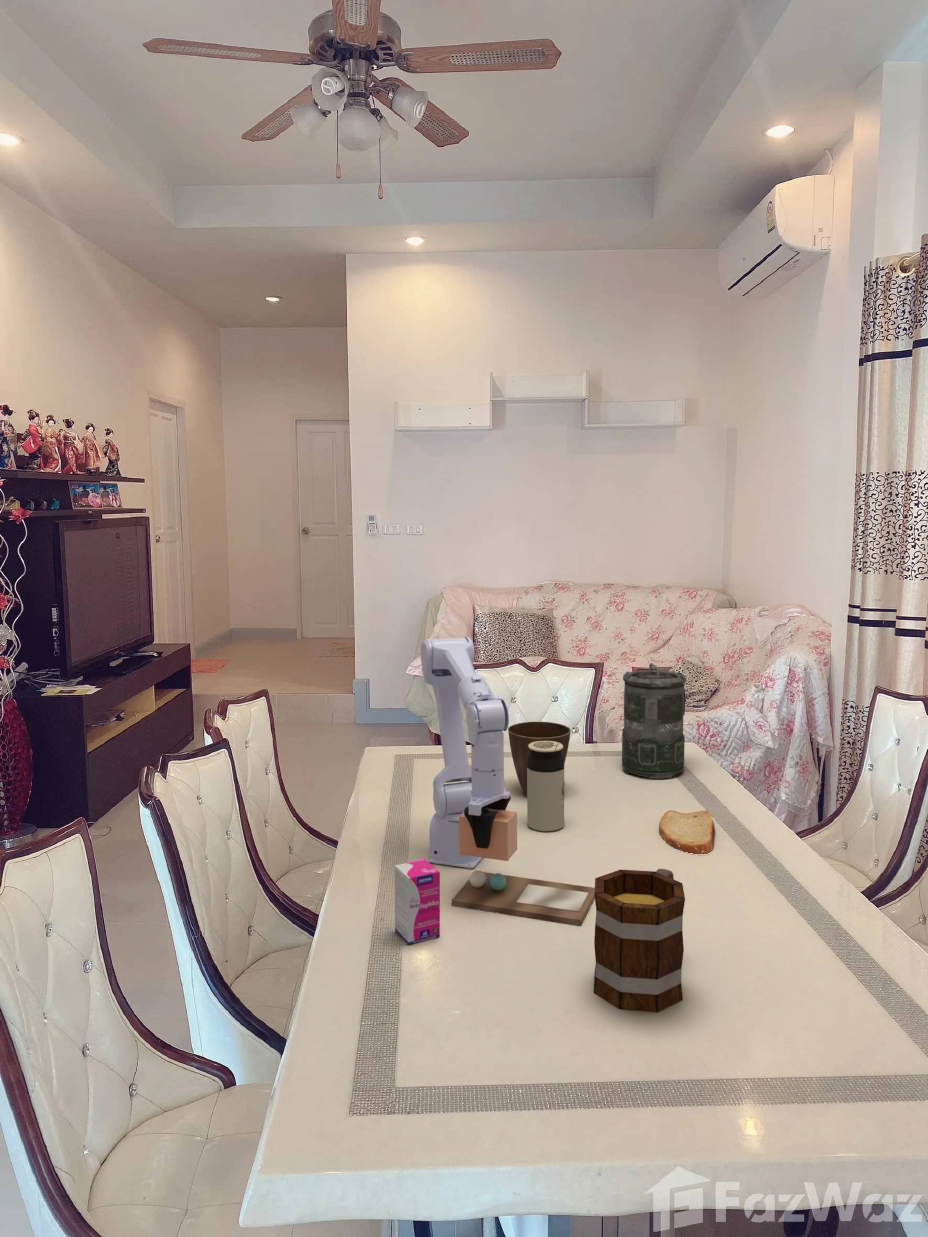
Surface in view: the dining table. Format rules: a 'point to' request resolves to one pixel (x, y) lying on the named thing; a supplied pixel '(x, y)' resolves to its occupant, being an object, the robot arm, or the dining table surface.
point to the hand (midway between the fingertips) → (488, 841)
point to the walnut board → (530, 899)
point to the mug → (639, 939)
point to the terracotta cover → (500, 841)
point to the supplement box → (417, 901)
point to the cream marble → (477, 879)
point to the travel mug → (545, 786)
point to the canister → (653, 723)
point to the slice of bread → (688, 831)
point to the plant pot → (531, 733)
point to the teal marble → (497, 882)
